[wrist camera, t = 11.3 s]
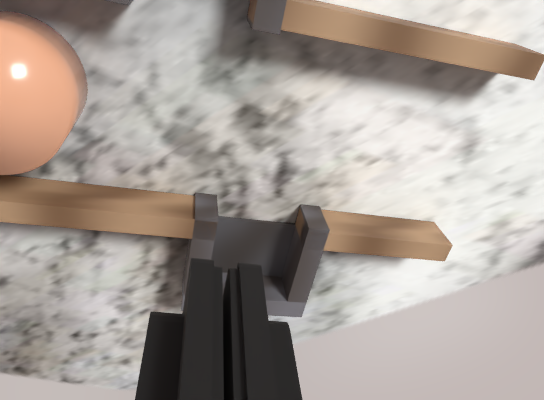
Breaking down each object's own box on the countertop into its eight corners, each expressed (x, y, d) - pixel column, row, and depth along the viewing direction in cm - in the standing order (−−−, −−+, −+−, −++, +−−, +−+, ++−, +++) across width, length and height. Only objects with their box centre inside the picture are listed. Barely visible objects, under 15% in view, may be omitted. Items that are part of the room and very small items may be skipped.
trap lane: (566, -70, 21) (683, -69, 16) (399, 296, 32) (437, 366, 27) (-154, -280, 15) (-339, -389, 10) (-55, 266, 26) (-117, 349, 21)
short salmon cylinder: (89, 26, 21) (67, 45, 17) (86, 146, 23) (67, 183, 20) (-61, -3, 19) (-117, 11, 16) (-45, 128, 22) (-89, 164, 19)
